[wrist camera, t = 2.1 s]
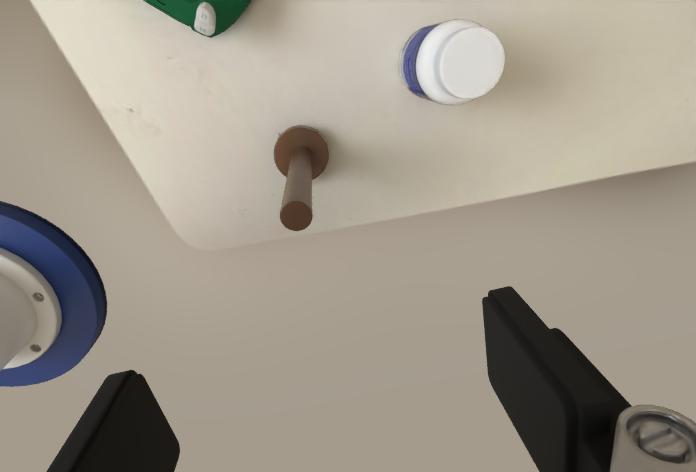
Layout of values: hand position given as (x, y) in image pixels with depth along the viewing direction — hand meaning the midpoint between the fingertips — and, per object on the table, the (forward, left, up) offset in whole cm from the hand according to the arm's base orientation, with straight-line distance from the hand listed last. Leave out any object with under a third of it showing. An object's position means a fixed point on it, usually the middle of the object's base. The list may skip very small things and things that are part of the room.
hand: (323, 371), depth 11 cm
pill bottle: (+11, +5, -26) cm, 29 cm away
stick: (-1, +1, -26) cm, 26 cm away
